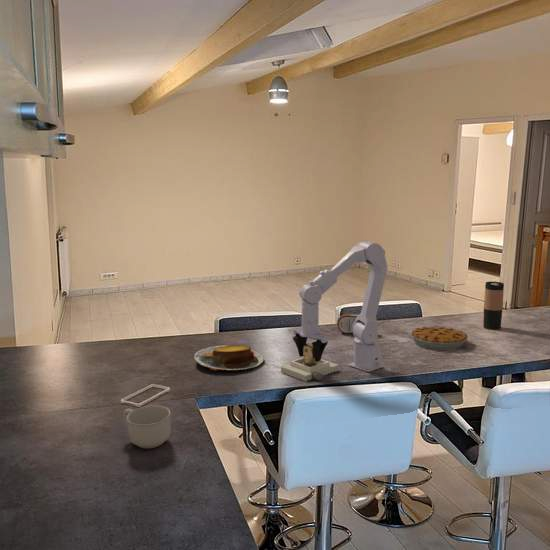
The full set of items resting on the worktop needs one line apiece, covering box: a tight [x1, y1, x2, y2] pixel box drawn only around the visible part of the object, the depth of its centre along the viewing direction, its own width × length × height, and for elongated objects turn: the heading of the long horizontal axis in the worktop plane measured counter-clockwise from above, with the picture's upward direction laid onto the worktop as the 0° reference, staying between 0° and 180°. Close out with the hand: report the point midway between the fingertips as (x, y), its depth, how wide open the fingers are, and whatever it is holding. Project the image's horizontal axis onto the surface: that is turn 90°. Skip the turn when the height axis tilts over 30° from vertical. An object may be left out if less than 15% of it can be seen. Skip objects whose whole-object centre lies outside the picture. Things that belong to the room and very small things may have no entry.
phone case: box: [120, 383, 171, 408], centre depth 176 cm, size 7×1×15 cm
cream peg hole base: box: [280, 357, 340, 382], centre depth 196 cm, size 15×16×4 cm
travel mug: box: [482, 281, 505, 331], centre depth 250 cm, size 8×8×20 cm
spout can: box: [302, 342, 318, 367], centre depth 196 cm, size 5×6×7 cm
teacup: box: [122, 404, 172, 450], centre depth 145 cm, size 14×11×8 cm
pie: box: [410, 326, 468, 351], centre depth 229 cm, size 22×22×5 cm
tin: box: [336, 313, 360, 334], centre depth 243 cm, size 15×3×8 cm, turn 84°
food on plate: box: [193, 345, 265, 371], centre depth 207 cm, size 25×25×7 cm
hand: (309, 358), depth 196 cm, fingers open, 7 cm apart
